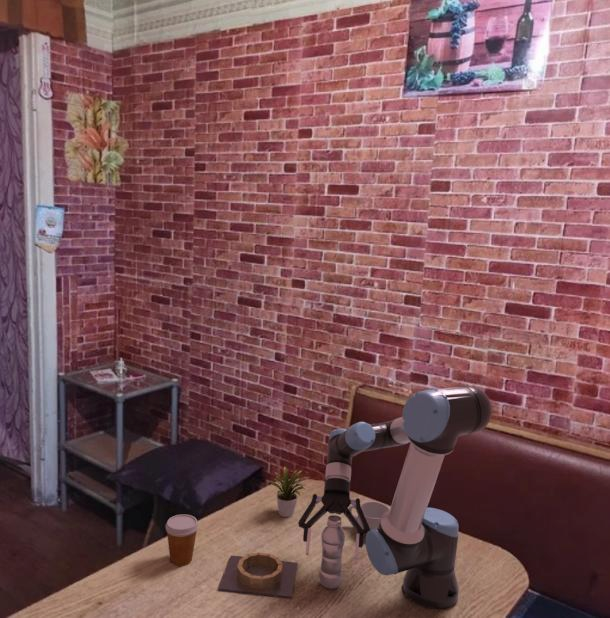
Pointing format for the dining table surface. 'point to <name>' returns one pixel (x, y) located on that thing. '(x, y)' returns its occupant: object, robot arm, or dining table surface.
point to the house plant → (288, 492)
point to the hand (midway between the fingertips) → (331, 556)
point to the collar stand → (259, 575)
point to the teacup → (371, 513)
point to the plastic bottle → (332, 553)
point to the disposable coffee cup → (181, 538)
